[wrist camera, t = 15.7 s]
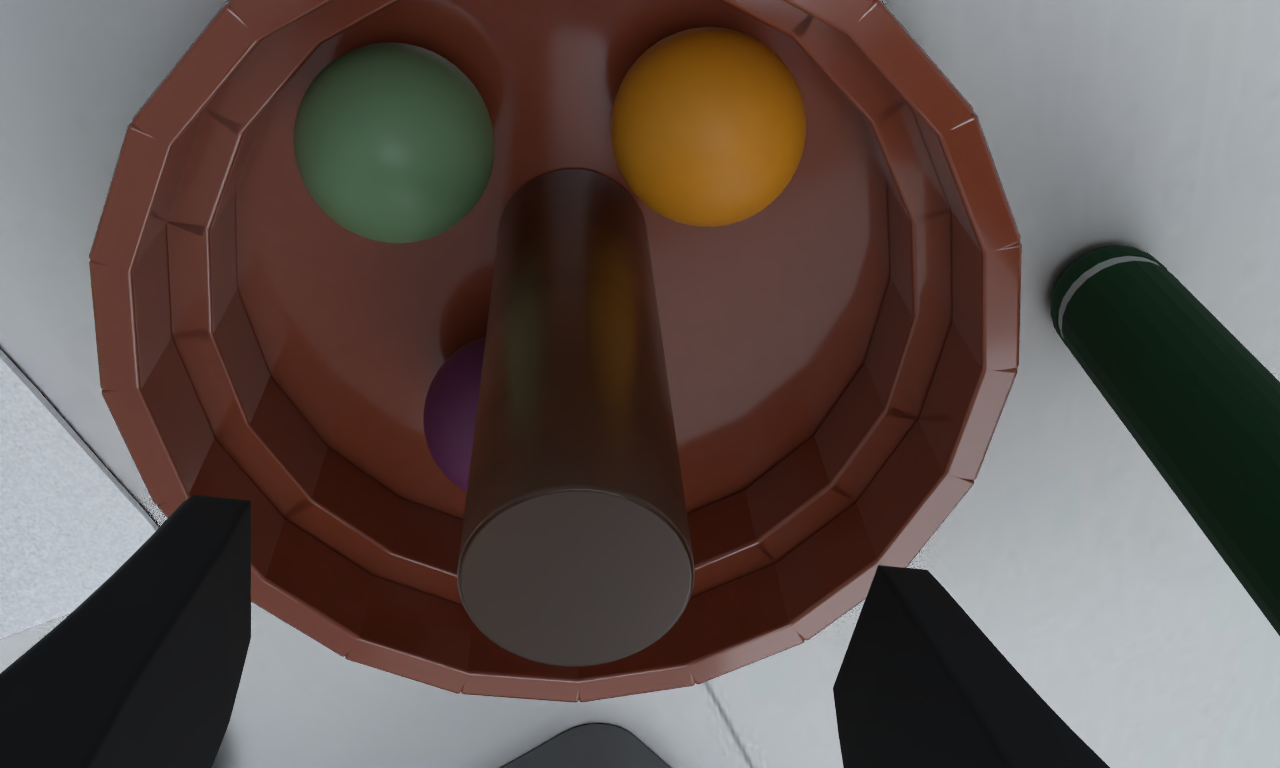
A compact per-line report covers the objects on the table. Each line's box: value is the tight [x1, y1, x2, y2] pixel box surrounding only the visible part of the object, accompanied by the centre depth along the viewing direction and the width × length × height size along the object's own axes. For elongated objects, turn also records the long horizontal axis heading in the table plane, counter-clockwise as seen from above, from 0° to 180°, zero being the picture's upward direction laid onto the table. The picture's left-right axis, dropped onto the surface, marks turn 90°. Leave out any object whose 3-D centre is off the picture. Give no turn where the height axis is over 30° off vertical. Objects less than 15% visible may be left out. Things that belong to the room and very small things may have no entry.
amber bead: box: [611, 27, 806, 227], centre depth 18 cm, size 3×3×3 cm
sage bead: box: [294, 42, 495, 243], centre depth 18 cm, size 3×3×3 cm
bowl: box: [89, 0, 1022, 702], centre depth 20 cm, size 14×14×4 cm
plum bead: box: [423, 337, 486, 492], centre depth 20 cm, size 3×3×3 cm
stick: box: [457, 169, 695, 667], centre depth 16 cm, size 3×3×9 cm
